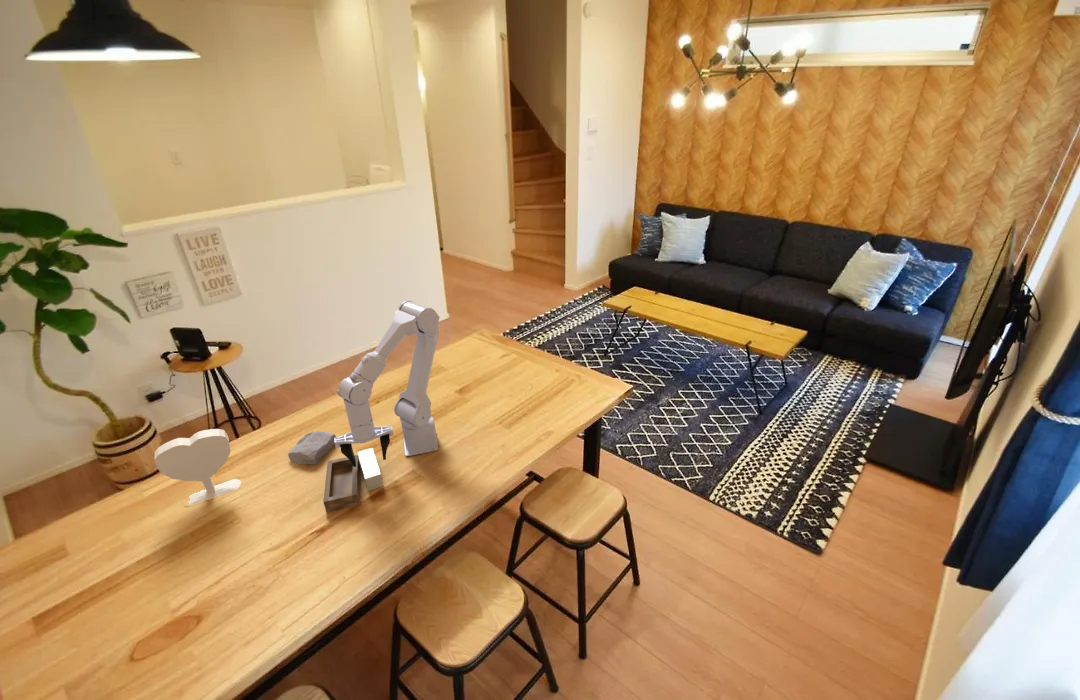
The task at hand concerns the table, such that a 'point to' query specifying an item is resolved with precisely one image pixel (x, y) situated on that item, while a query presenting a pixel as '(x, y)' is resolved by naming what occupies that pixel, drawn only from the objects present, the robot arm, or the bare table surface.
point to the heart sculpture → (197, 462)
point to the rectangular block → (370, 469)
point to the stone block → (311, 447)
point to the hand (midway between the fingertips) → (369, 461)
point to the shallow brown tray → (342, 484)
